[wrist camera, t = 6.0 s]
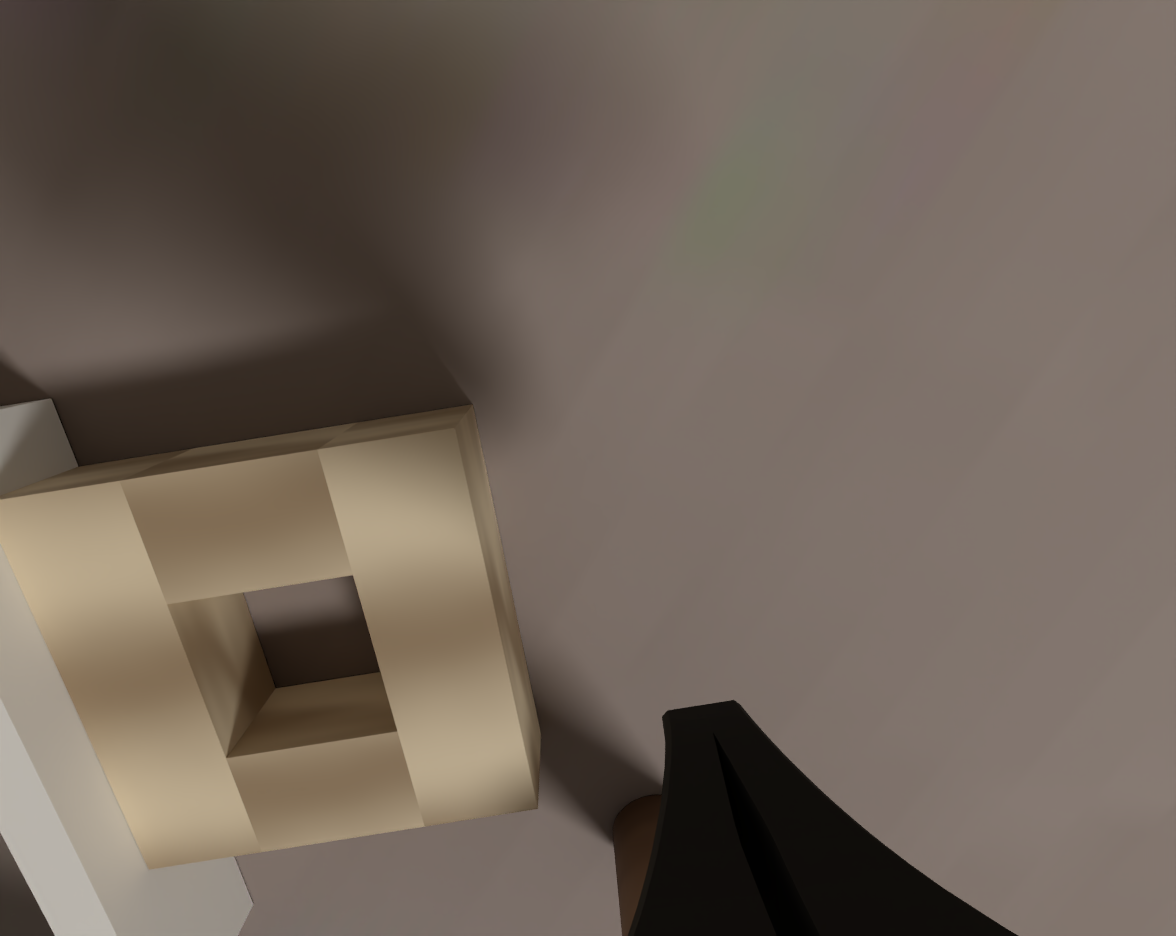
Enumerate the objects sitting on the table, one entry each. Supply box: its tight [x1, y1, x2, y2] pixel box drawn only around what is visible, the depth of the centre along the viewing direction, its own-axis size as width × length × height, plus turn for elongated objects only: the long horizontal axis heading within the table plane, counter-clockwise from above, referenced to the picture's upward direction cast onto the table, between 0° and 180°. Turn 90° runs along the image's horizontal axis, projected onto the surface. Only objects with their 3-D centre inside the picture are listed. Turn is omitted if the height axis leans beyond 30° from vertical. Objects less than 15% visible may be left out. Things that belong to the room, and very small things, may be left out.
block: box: [0, 404, 541, 870], centre depth 17 cm, size 11×11×3 cm
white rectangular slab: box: [0, 398, 253, 936], centre depth 17 cm, size 18×6×4 cm, turn 9°
